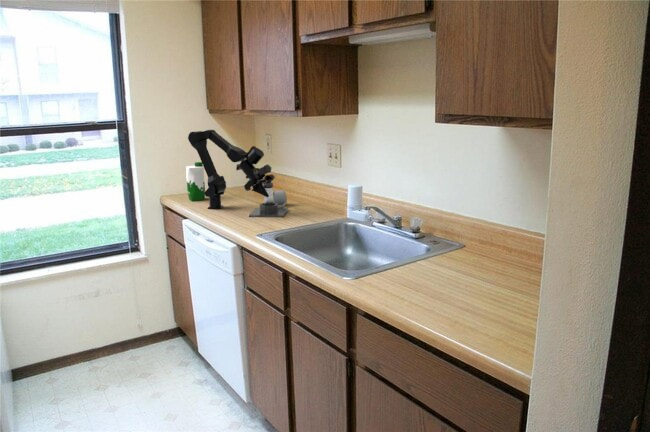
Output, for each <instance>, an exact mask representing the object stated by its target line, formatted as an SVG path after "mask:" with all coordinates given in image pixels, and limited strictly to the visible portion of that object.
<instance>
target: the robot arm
mask: <svg viewBox="0 0 650 432" xmlns="http://www.w3.org/2000/svg"><path fill="white" fill-rule="evenodd" d="M187 139H188V142H189V144H190V146H191V147H192V148H194V149H195V150H196V152H197V154H198V157H199V158H200V160H201V161H200V162H202V165H203V167H204V172H205V173H206V175H207V186H208V188H207V189H205V198H206V197H208V204H209V206H208V207H207V209H209V210H210V209H211V210H212V209H213V210H218V209H222V208H223V207H224V205H222V197H221V196H223V195H224V194H225V190H226V189H227V182H226V180H225V177H224V176H223V175H220V174H218V171H217V170H216V167H215V164H214V162H213V160H212V157H211V155H210V152H209V149H208V147H207V146H208V140H209V141H211V142H212V143H213V144H214V145H216V146H217V147H218V148H220V149H221V150H222V151H223V152H224V153H226V154H225V155H226V156H227V158H228V159H229V160H230V161H231V163H239V164H236V168H235V170H236V171H240V170H241V171H242V172H243V174H244V175H245V178H246V179H249V180H247V182H246V183H245V184H244V185H243V187H244V189H245V191H246V192H250V191H251V192H255V193H257V194H259V195H262V196H263V197H264V196H266V197H269V195H268V193H267V192H266V190H265V189H264V184H263V183H273V181H274V179H276V176H275V175H274V174H273V173H271V172H272V167H271V165H269V164H265V165H264V166H262V167H260V168H259V167H256V166H255V165H257V164H258V163H259V162H260V161H261V160H262V159H263V157H264V156H265V153H264V151H263V150H262V149H260V148H258V147H256V145H252V146H251V147H250V149H249V150H248V151H247V152H246V151H245V150H244V149H243V148H240V147H239V146H235V145H233V144H232V143H230V141H228V140H227V139H225V138H223V136H222V135H220V134H219V133H218V132H216V130H215V129H206V130H198V131H190V132H189V134H188V136H187ZM269 173H270V174H269ZM251 188H252V189H251ZM273 195H274V192H273Z"/></svg>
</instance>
